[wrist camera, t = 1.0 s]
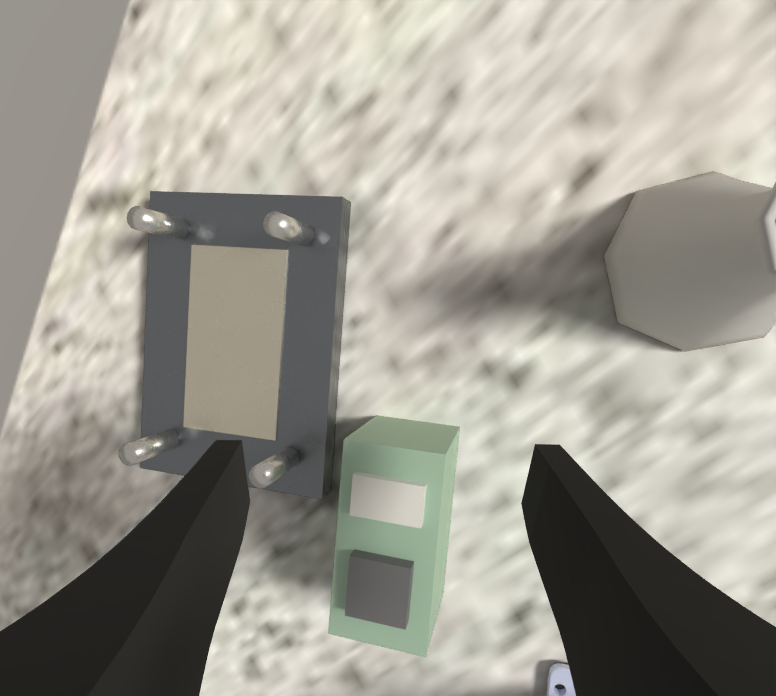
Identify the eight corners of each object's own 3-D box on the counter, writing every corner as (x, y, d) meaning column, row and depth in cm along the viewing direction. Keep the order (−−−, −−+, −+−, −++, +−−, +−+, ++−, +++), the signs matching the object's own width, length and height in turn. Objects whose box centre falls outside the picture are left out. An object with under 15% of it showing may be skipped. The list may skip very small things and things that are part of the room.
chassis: (330, 490, 26) (295, 523, 22) (155, 461, 28) (94, 486, 24) (350, 202, 25) (318, 180, 21) (166, 196, 27) (104, 175, 23)
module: (444, 590, 25) (423, 667, 20) (363, 573, 26) (322, 642, 21) (460, 426, 24) (443, 459, 19) (376, 414, 25) (338, 442, 20)
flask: (814, 177, 20) (1080, 53, 11) (782, 362, 21) (1007, 403, 11) (614, 169, 22) (689, 57, 12) (591, 341, 23) (644, 361, 13)
